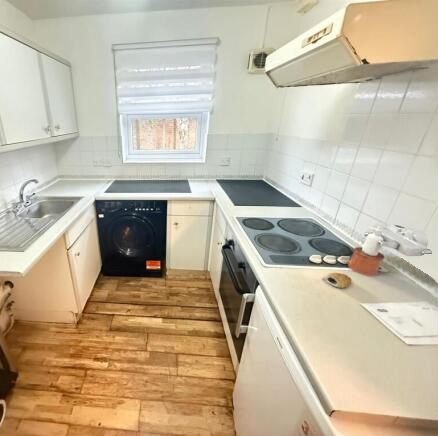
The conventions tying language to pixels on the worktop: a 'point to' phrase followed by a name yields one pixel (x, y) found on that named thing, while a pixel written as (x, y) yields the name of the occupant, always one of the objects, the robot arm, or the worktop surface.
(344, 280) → the pastry
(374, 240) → the eye dropper bottle
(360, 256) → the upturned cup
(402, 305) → the worktop surface
